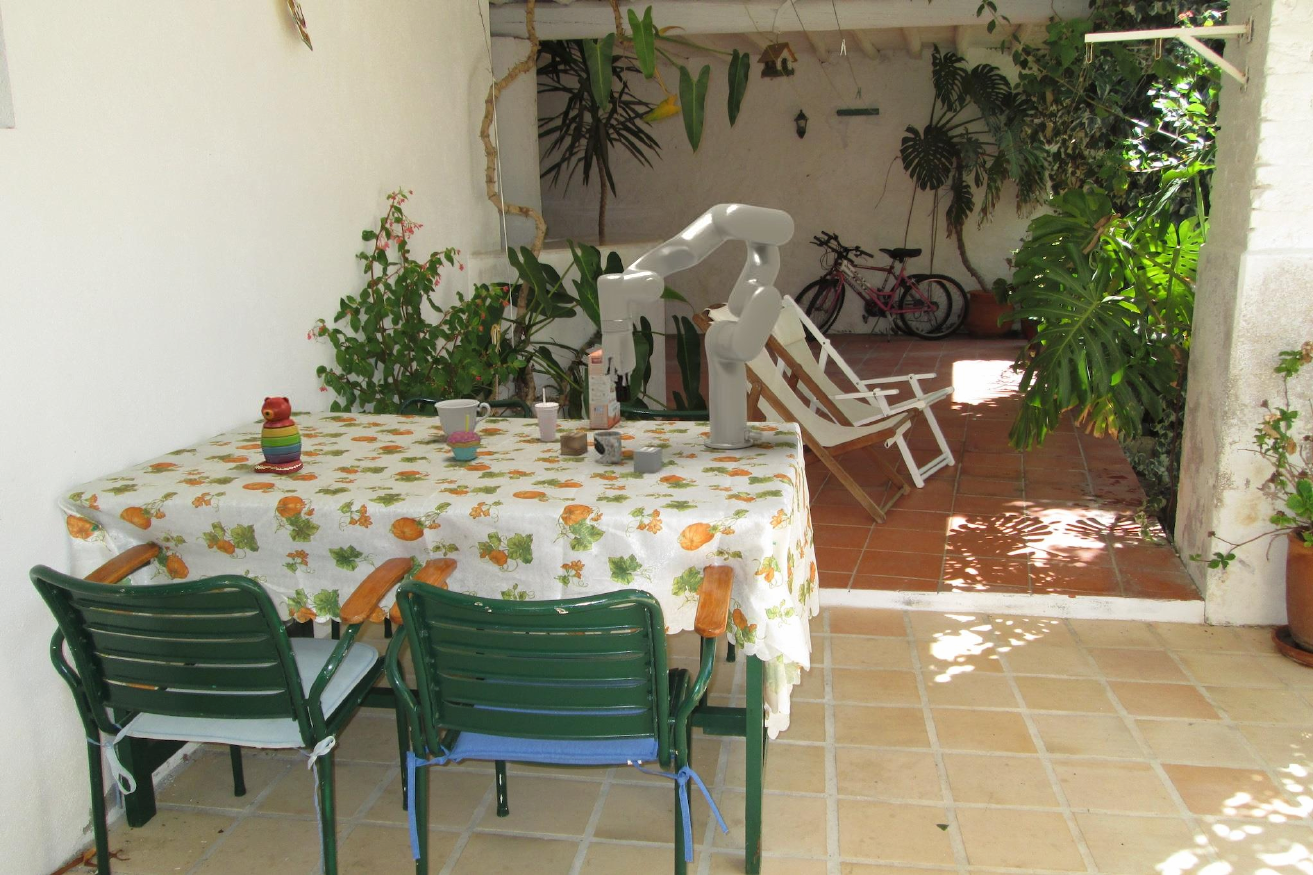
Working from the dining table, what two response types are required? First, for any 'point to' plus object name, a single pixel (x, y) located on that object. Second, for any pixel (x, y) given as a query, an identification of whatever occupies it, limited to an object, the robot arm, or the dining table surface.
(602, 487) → the dining table surface
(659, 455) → the slate number block
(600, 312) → the robot arm
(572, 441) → the walnut number block
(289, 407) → the stacking bear
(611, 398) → the cracker box
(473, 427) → the teacup
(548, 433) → the smoothie
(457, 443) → the cupcake
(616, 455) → the mug
